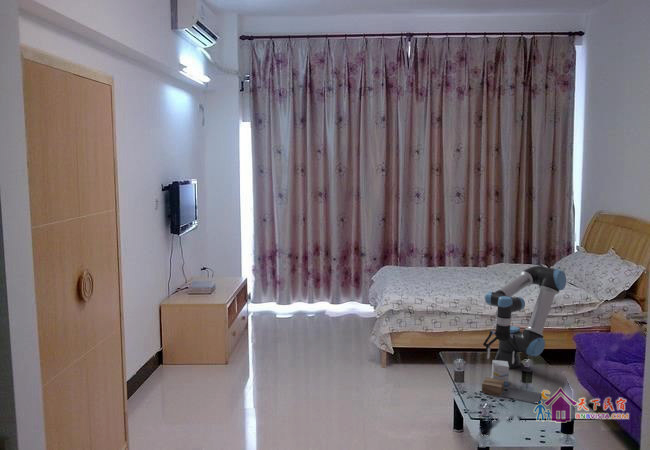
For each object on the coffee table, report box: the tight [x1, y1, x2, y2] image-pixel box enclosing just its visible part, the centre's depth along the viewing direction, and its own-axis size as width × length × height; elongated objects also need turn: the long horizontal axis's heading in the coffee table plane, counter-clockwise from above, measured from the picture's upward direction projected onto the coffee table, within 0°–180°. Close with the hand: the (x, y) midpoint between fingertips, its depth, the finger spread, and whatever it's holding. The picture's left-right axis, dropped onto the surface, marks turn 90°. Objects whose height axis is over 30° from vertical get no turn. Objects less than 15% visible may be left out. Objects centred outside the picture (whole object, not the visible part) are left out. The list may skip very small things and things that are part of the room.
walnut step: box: [481, 376, 505, 397], centre depth 317 cm, size 10×10×5 cm
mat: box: [503, 386, 542, 404], centre depth 312 cm, size 14×17×1 cm
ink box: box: [490, 359, 510, 387], centre depth 327 cm, size 8×8×12 cm
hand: (500, 360), depth 326 cm, fingers open, 13 cm apart
